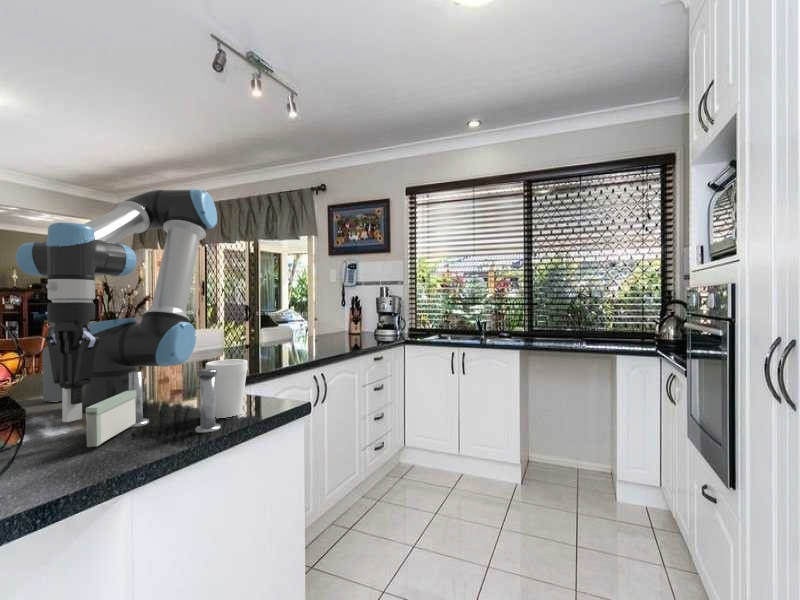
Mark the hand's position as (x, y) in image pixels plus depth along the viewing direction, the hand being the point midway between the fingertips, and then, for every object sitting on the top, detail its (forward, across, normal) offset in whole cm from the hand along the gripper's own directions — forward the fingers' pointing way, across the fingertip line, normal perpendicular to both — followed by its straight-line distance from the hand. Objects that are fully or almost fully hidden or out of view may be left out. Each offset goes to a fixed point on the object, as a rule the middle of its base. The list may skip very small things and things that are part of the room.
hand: (72, 419), depth 84 cm
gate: (+4, +4, +5) cm, 8 cm away
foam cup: (+5, +14, +27) cm, 31 cm away
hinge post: (+5, 0, +14) cm, 14 cm away
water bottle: (+4, -43, +24) cm, 49 cm away
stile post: (+5, +19, +16) cm, 25 cm away
